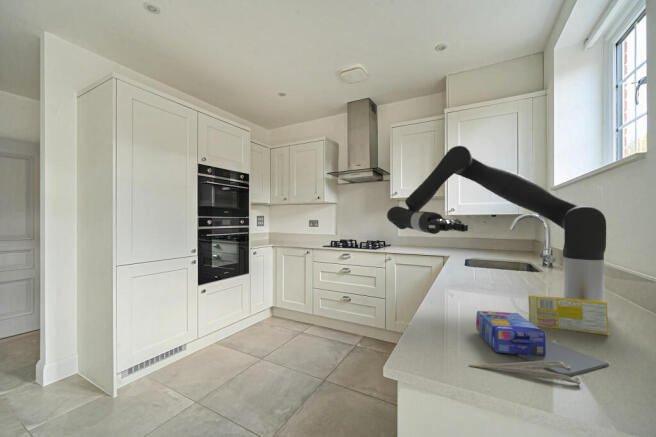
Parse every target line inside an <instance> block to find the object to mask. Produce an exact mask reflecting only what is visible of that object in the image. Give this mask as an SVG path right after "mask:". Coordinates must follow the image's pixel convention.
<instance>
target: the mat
mask: <svg viewBox="0 0 656 437" xmlns="http://www.w3.org/2000/svg"><path fill="white" fill-rule="evenodd" d="M514 355H516V356H518V357H521V358H522V359H525V360H527V361H528V362H533V361H557V362H558V361H559V362H563V363H565V364H566V365H568V366H570V367H571V369H570V370H571V371H568V370H566V369H563V368H557V367H547V368H544V369H546V370H547V371H550V372H551V373H556V374H561V375H566V376H568V377H572V376H575V374H576V375H578V374H583V373H587V372H591V371H593V370H598V369H600V367H602V368H604V366H605V367H609V362H606V361H604V360H602V359H600V358H596V357H594V356H592V355H589V354H586V353H583V352H581V351H578V350H575V349H572V348H571V347H568V346H566V345H562V344H560V343H557V342H555V341H552V340H550V339H547V338H546V355H545V356H538V355H527V354H517V353H514ZM543 364H544V363H543ZM550 364H553V363H550ZM597 368H598V369H597ZM586 371H587V372H586ZM582 372H583V373H582ZM571 375H572V376H571Z"/></svg>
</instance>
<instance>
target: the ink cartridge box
mask: <svg viewBox="0 0 656 437" xmlns="http://www.w3.org/2000/svg"><path fill="white" fill-rule="evenodd" d="M475 317H476V319H475V320H476V321H475V327H476V328H475V330H476V332H478V333H479V335H480V336H481V337H482V338H483V339H484V340H485V341H486V342H487V344H488V345H489V346H490V347H491V348H492V349H493V351H494V352H496V353H501V354H514V353H517V354H527V355H538V356H545V355H546V339H547V338H546V332H545V331H544V330H542V329H541V328H540V327H539V326H535V325H533V324H532V323H531V322H529V319H526V318H525V317H523V316H522V315H521V314H519V313H517V312H506V311H490V310H489V311H488V310H487V311H486V310H477V311H476V316H475ZM517 354H516V355H517ZM514 355H515V354H514Z"/></svg>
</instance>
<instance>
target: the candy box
mask: <svg viewBox="0 0 656 437" xmlns="http://www.w3.org/2000/svg"><path fill="white" fill-rule="evenodd" d="M528 321H529V322H531V323H532V324H533V325H535V326H536V327H539V326H540V327H541V328H549V329H558V330H564V331H565V330H566V331H572V332H580V333H587V334H588V333H589V334H596V335H597V334H598V335H603V336H609V334H610V333H609V321H608V302H606V301H605V302H604V301H595V300H582V299H570V298H564V297H556V296H543V295H533V294H528ZM540 327H539V328H540Z"/></svg>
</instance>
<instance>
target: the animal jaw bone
mask: <svg viewBox="0 0 656 437" xmlns="http://www.w3.org/2000/svg"><path fill="white" fill-rule="evenodd" d="M543 363H544V364H543ZM550 363H553V364H550ZM468 366H469V367H474V368H480V369H490V370H499V371H500V370H501V371H508V372H513V373H514V372H516V373H522V374H527V375H528V374H529V375H534V376H535V375H536V376H539V377H540V376H541V377H545V378H546V377H547V378H550V379H553V380H559V381H565V382H568V383H572V384H573V383H574V384H577V385H580V384H581V382H582V381H581V380H580V378H579V377H578V376H575V377H571V376H566V375H561V374H556V373H554V372H552V371H550V372H549V371H544V370H537V369H529V368H543V369H545V368H547V367H557V368H563V369H566V370H568V371H571V370H570V369H571V367H570V366H568V365H566V364H565V363H563V362H559V361H558V362H557V361H533V362H531V361H525V362H521V361H520V362H511V363H510V362H509V363H508V362H507V363H506V362H505V363H492V364H491V363H490V364H487V363H486V364H485V363H484V364H482V363H481V364H477V363H475V364H472V363H471V364H470V363H469V364H468Z"/></svg>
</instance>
